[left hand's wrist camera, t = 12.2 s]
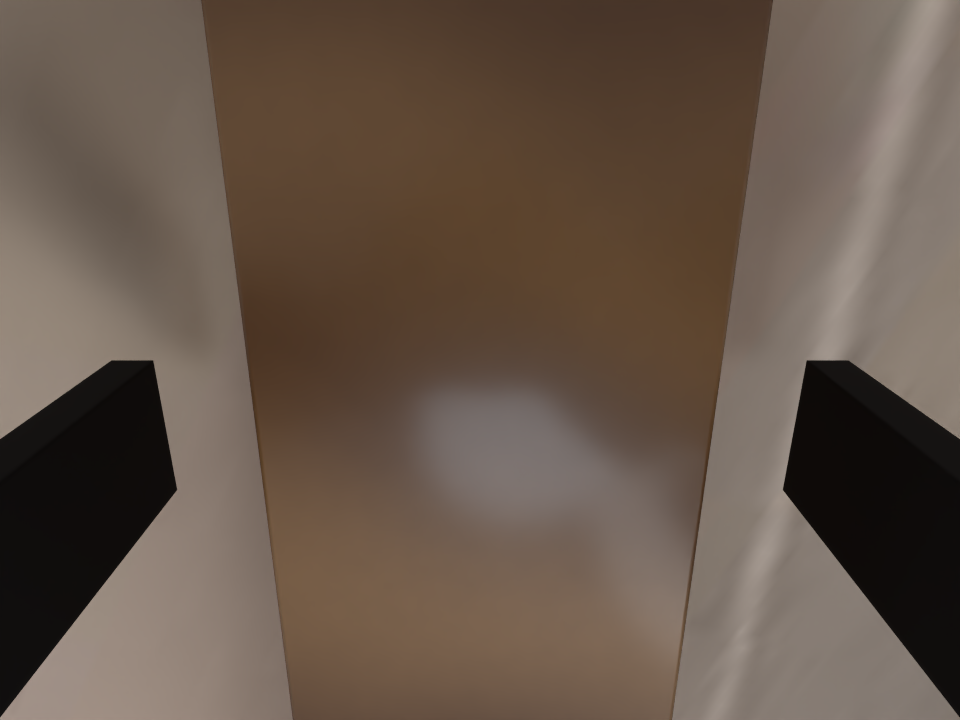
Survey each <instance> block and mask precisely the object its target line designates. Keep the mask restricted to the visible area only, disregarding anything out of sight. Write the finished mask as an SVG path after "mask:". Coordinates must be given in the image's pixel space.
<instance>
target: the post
mask: <svg viewBox="0 0 960 720" xmlns="http://www.w3.org/2000/svg"><path fill="white" fill-rule="evenodd" d="M201 2H202V9H203V17H204V25H205V33H206V41H207V49H208V57H209V64H210V72H211V80H212V88H213V96H214V104H215V111H216V119H217V127H218V135H219V143H220V151H221V159H222V166H223V174H224V182H225V190H226V198H227V206H228V214H229V221H230V229H231V237H232V245H233V253H234V261H235V268H236V276H237V284H238V292H239V300H240V308H241V316H242V323H243V331H244V339H245V347H246V355H247V363H248V370H249V378H250V386H251V394H252V402H253V410H254V418H255V425H256V433H257V441H258V449H259V457H260V465H261V473H262V480H263V488H264V496H265V504H266V512H267V520H268V527H269V535H270V543H271V551H272V559H273V567H274V575H275V582H276V590H277V598H278V606H279V614H280V622H281V630H282V637H283V645H284V653H285V661H286V669H287V677H288V684H289V692H290V700H291V708H292V716H293V720H672V715H673V708H674V701H675V694H676V687H677V680H678V673H679V665H680V658H681V651H682V644H683V637H684V630H685V623H686V616H687V608H688V601H689V594H690V587H691V580H692V573H693V566H694V559H695V551H696V544H697V537H698V530H699V523H700V516H701V509H702V502H703V494H704V487H705V480H706V473H707V466H708V459H709V452H710V445H711V438H712V430H713V423H714V416H715V409H716V402H717V395H718V388H719V381H720V373H721V366H722V359H723V352H724V345H725V338H726V331H727V324H728V316H729V309H730V302H731V295H732V288H733V281H734V274H735V267H736V259H737V252H738V245H739V238H740V231H741V224H742V217H743V210H744V202H745V195H746V188H747V181H748V174H749V167H750V160H751V153H752V145H753V138H754V131H755V124H756V117H757V110H758V103H759V96H760V88H761V81H762V74H763V67H764V60H765V53H766V46H767V39H768V31H769V24H770V17H771V10H772V3H773V0H201Z"/></svg>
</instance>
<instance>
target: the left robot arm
mask: <svg viewBox="0 0 960 720" xmlns="http://www.w3.org/2000/svg"><path fill="white" fill-rule="evenodd" d="M176 491H177V487H176V481H175V476H174V471H173V465H172V460H171V454H170V449H169V444H168V438H167V433H166V427H165V422H164V416H163V411H162V406H161V400H160V395H159V389H158V384H157V379H156V373H155V368H154V362H153V361H110V362H109V363H107V364H106V365H105V366H103V367H102V368H100V369H99V370H98V371H96V372H95V373H93V374H92V375H90V376H89V377H88V378H86V379H85V380H83V381H82V382H81V383H79V384H78V385H76V386H75V387H73V388H72V389H71V390H69V391H68V392H66V393H65V394H64V395H62V396H61V397H59V398H58V399H57V400H55V401H54V402H52V403H51V404H49V405H48V406H47V407H45V408H44V409H42V410H41V411H40V412H38V413H37V414H35V415H34V416H32V417H31V418H30V419H28V420H27V421H25V422H24V423H23V424H21V425H20V426H18V427H17V428H15V429H14V430H13V431H11V432H10V433H8V434H7V435H6V436H4V437H3V438H1V439H0V717H1V716H2V714H3V713H4V712H5V710H6V709H7V708H8V707H9V705H10V704H11V703H12V701H13V700H14V699H15V698H16V696H17V695H18V694H19V692H20V691H21V690H22V689H23V687H24V686H25V685H26V683H27V682H28V681H29V680H30V678H31V677H32V676H33V674H34V673H35V672H36V671H37V669H38V668H39V667H40V665H41V664H42V663H43V662H44V660H45V659H46V658H47V656H48V655H49V654H50V653H51V651H52V650H53V649H54V647H55V646H56V645H57V644H58V642H59V641H60V640H61V638H62V637H63V636H64V635H65V633H66V632H67V631H68V629H69V628H70V627H71V626H72V624H73V623H74V622H75V620H76V619H77V618H78V617H79V615H80V614H81V613H82V611H83V610H84V609H85V608H86V606H87V605H88V604H89V602H90V601H91V600H92V599H93V597H94V596H95V595H96V593H97V592H98V591H99V590H100V588H101V587H102V586H103V584H104V583H105V582H106V581H107V579H108V578H109V577H110V575H111V574H112V573H113V572H114V570H115V569H116V568H117V566H118V565H119V564H120V563H121V561H122V560H123V559H124V557H125V556H126V555H127V554H128V552H129V551H130V550H131V548H132V547H133V546H134V545H135V543H136V542H137V541H138V539H139V538H140V537H141V536H142V534H143V533H144V532H145V530H146V529H147V528H148V527H149V525H150V524H151V523H152V521H153V520H154V519H155V518H156V516H157V515H158V514H159V512H160V511H161V510H162V509H163V507H164V506H165V505H166V503H167V502H168V501H169V500H170V498H171V497H172V496H173V494H174V493H175V492H176ZM783 491H784V492H785V493H786V494H787V496H788V497H789V498H790V500H791V501H792V502H793V503H794V505H795V506H796V507H797V509H798V510H799V511H800V512H801V514H802V515H803V516H804V518H805V519H806V520H807V521H808V523H809V524H810V525H811V527H812V528H813V529H814V530H815V532H816V533H817V534H818V536H819V537H820V538H821V539H822V541H823V542H824V543H825V545H826V546H827V547H828V548H829V550H830V551H831V552H832V554H833V555H834V556H835V557H836V559H837V560H838V561H839V563H840V564H841V565H842V566H843V568H844V569H845V570H846V572H847V573H848V574H849V575H850V577H851V578H852V579H853V581H854V582H855V583H856V584H857V586H858V587H859V588H860V590H861V591H862V592H863V593H864V595H865V596H866V597H867V599H868V600H869V601H870V602H871V604H872V605H873V606H874V608H875V609H876V610H877V611H878V613H879V614H880V615H881V617H882V618H883V619H884V620H885V622H886V623H887V624H888V626H889V627H890V628H891V629H892V631H893V632H894V633H895V635H896V636H897V637H898V638H899V640H900V641H901V642H902V644H903V645H904V646H905V647H906V649H907V650H908V651H909V653H910V654H911V655H912V656H913V658H914V659H915V660H916V662H917V663H918V664H919V665H920V667H921V668H922V669H923V671H924V672H925V673H926V674H927V676H928V677H929V678H930V680H931V681H932V682H933V683H934V685H935V686H936V687H937V689H938V690H939V691H940V692H941V694H942V695H943V696H944V698H945V699H946V700H947V701H948V703H949V704H950V705H951V707H952V708H953V709H954V710H955V712H956V713H957V714H958V716H959V717H960V439H959V438H957V437H956V436H954V435H953V434H952V433H950V432H949V431H947V430H946V429H945V428H943V427H942V426H940V425H939V424H937V423H936V422H935V421H933V420H932V419H930V418H929V417H928V416H926V415H925V414H923V413H922V412H920V411H919V410H918V409H916V408H915V407H913V406H912V405H911V404H909V403H908V402H906V401H905V400H903V399H902V398H901V397H899V396H898V395H896V394H895V393H894V392H892V391H891V390H889V389H888V388H886V387H885V386H884V385H882V384H881V383H879V382H878V381H877V380H875V379H874V378H872V377H871V376H870V375H868V374H867V373H865V372H864V371H862V370H861V369H860V368H858V367H857V366H855V365H854V364H853V363H851V362H850V361H807V362H806V368H805V373H804V379H803V384H802V389H801V395H800V400H799V406H798V411H797V416H796V422H795V427H794V433H793V438H792V443H791V449H790V454H789V460H788V465H787V470H786V476H785V481H784V487H783Z"/></svg>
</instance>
